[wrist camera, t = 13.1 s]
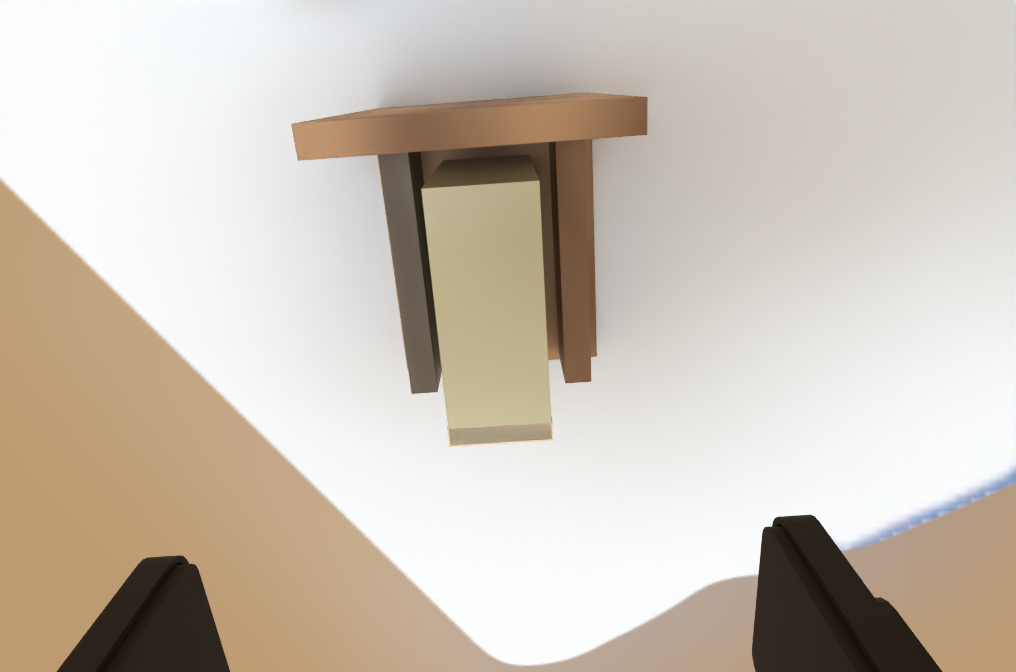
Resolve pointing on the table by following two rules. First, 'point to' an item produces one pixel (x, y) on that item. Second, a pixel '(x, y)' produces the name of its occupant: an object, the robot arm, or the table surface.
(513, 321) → the beige rectangular block
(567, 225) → the shelf
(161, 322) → the table surface
